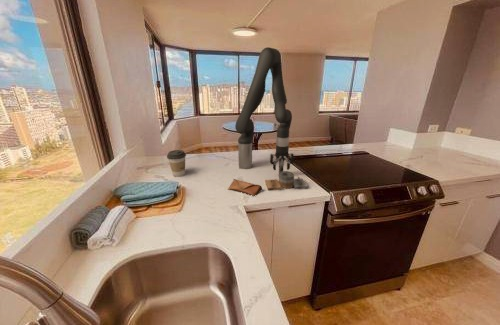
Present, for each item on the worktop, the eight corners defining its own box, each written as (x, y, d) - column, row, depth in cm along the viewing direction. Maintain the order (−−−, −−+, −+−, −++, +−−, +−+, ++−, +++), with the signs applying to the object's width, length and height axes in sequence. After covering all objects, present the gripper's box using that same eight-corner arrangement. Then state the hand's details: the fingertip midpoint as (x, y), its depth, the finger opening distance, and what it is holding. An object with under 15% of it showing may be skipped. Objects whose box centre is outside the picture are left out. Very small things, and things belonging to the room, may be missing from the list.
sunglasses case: (226, 189, 115) (228, 177, 116) (232, 190, 122) (234, 179, 122) (255, 197, 108) (258, 184, 109) (260, 197, 114) (263, 185, 115)
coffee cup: (183, 179, 128) (179, 155, 123) (166, 177, 130) (162, 154, 125) (191, 171, 138) (189, 149, 133) (175, 170, 141) (172, 148, 135)
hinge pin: (279, 176, 131) (279, 158, 126) (278, 174, 133) (278, 157, 129) (283, 176, 131) (284, 158, 126) (282, 174, 133) (283, 156, 129)
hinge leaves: (267, 190, 114) (268, 178, 112) (265, 182, 124) (265, 171, 121) (307, 188, 116) (309, 177, 114) (302, 180, 125) (303, 169, 123)
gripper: (292, 142, 129) (290, 166, 134) (269, 142, 127) (268, 167, 133) (296, 145, 122) (294, 171, 127) (271, 146, 120) (270, 172, 126)
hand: (281, 169), depth 130 cm, fingers open, 7 cm apart
